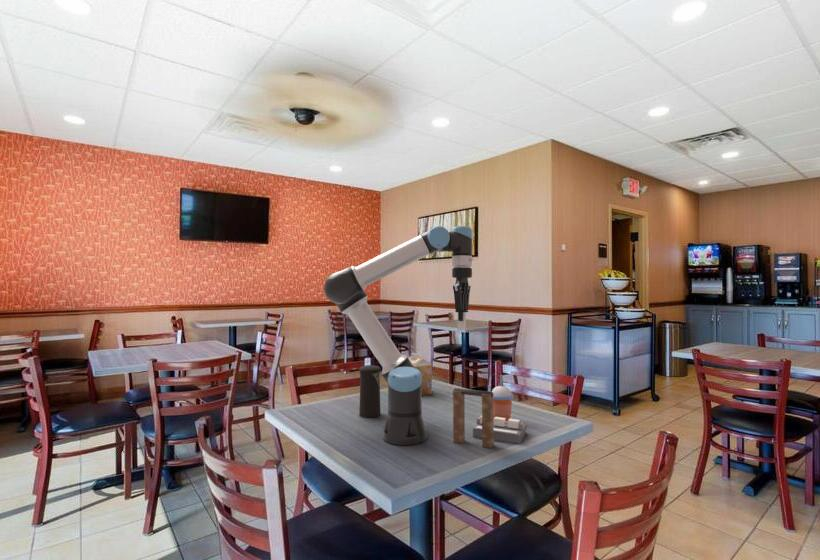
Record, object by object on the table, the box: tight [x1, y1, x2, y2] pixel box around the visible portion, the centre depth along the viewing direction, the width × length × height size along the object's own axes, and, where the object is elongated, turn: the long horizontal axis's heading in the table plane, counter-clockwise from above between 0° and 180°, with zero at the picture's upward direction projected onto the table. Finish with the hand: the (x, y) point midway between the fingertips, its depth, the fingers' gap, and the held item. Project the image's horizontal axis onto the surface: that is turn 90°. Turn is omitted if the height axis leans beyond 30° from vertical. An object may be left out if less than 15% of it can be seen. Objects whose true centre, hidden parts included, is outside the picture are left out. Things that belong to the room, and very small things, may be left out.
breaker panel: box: [472, 416, 527, 445], centre depth 153 cm, size 16×12×5 cm
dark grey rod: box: [452, 387, 493, 397], centre depth 145 cm, size 14×2×2 cm, turn 64°
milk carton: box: [408, 352, 433, 396], centre depth 214 cm, size 11×11×19 cm
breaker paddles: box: [479, 414, 521, 429], centre depth 153 cm, size 14×2×2 cm, turn 64°
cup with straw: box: [491, 374, 514, 422], centre depth 167 cm, size 9×9×18 cm
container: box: [358, 364, 382, 418], centre depth 177 cm, size 9×9×20 cm
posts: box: [452, 390, 495, 449], centre depth 144 cm, size 13×4×17 cm, turn 64°
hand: (461, 329), depth 164 cm, fingers closed
